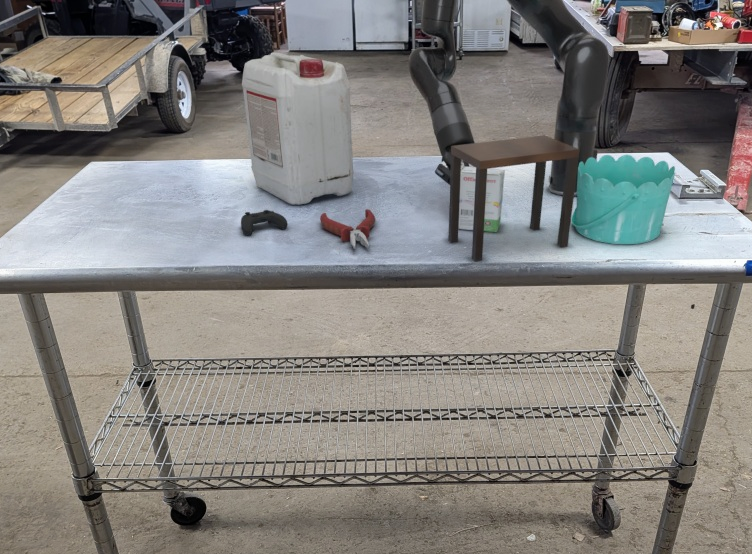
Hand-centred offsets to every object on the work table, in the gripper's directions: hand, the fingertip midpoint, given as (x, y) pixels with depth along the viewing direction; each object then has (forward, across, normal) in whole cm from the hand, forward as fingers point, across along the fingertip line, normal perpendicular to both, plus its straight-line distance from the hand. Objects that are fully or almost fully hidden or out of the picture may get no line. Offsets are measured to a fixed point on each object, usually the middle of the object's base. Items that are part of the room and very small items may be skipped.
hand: (474, 203), depth 151 cm
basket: (+14, +24, -9) cm, 30 cm away
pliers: (+1, -28, +4) cm, 28 cm away
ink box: (+6, -1, 0) cm, 6 cm away
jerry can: (-23, -28, +29) cm, 46 cm away
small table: (+13, 0, -8) cm, 15 cm away
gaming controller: (-6, -43, +12) cm, 45 cm away
